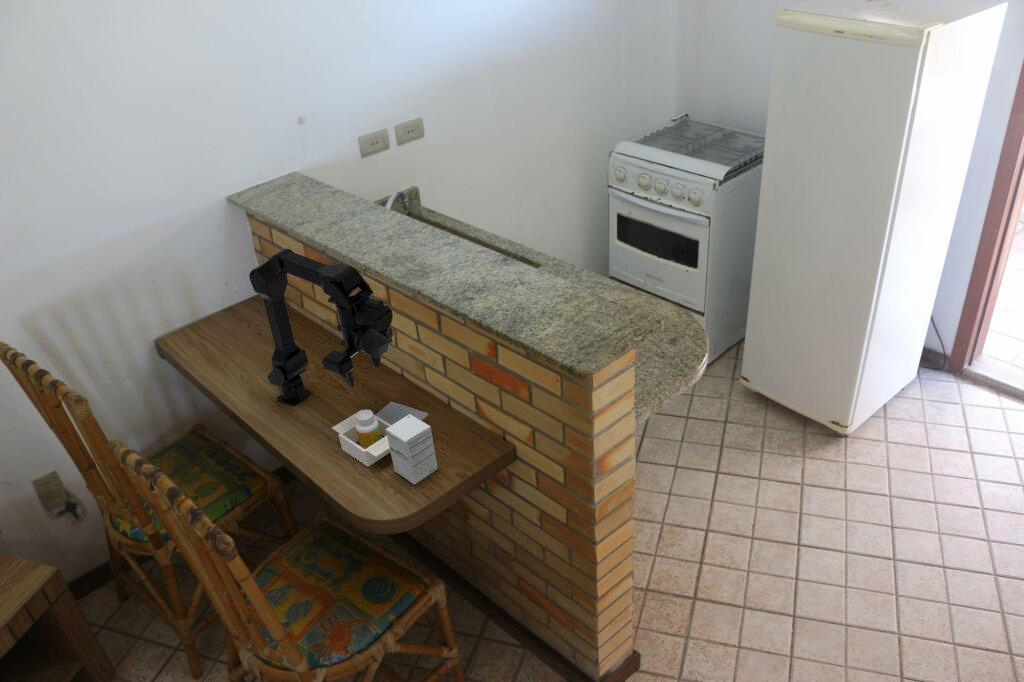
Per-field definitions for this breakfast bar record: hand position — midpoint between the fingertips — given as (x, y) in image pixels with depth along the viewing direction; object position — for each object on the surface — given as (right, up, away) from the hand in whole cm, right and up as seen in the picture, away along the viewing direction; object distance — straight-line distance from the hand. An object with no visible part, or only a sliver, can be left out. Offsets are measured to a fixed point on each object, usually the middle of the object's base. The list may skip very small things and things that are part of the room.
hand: (364, 376), depth 199 cm
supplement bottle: (+2, -17, +1) cm, 17 cm away
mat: (+7, -11, +9) cm, 16 cm away
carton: (+2, -17, +1) cm, 17 cm away
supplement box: (+13, -21, -8) cm, 26 cm away
